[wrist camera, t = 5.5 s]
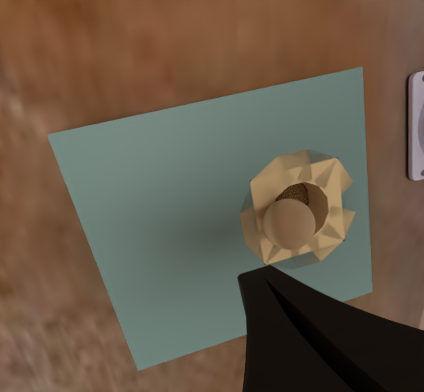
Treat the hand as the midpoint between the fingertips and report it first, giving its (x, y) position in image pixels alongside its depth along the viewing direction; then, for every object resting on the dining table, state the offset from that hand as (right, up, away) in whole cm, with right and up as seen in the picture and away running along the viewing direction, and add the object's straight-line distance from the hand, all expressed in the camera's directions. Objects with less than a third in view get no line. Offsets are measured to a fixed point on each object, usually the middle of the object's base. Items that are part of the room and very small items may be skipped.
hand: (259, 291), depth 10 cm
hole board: (0, +2, +9) cm, 9 cm away
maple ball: (+3, +2, +6) cm, 7 cm away
